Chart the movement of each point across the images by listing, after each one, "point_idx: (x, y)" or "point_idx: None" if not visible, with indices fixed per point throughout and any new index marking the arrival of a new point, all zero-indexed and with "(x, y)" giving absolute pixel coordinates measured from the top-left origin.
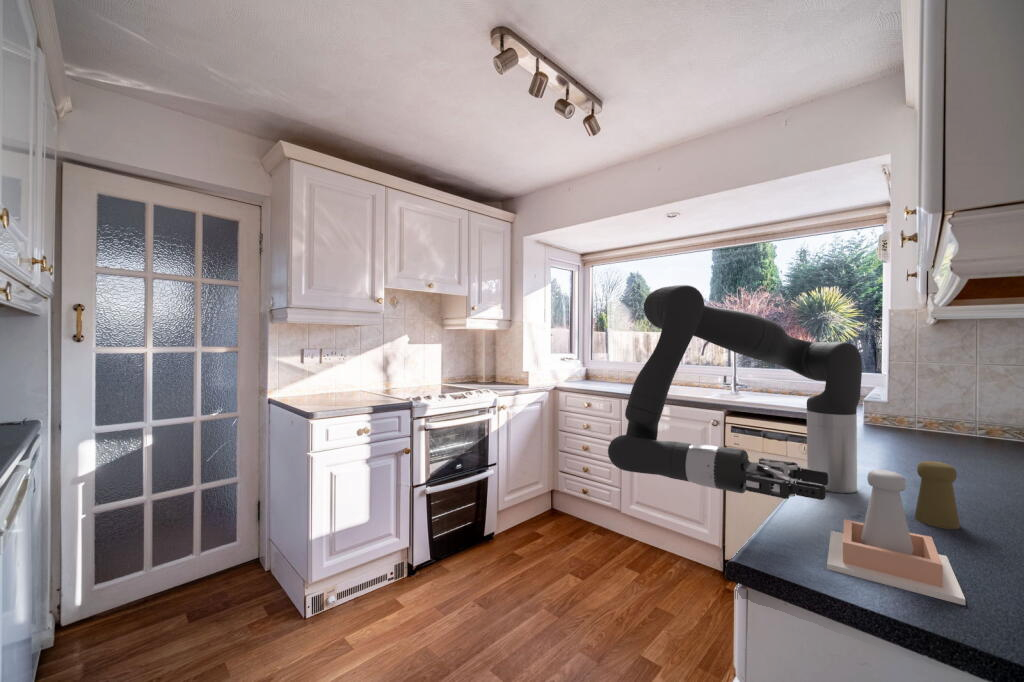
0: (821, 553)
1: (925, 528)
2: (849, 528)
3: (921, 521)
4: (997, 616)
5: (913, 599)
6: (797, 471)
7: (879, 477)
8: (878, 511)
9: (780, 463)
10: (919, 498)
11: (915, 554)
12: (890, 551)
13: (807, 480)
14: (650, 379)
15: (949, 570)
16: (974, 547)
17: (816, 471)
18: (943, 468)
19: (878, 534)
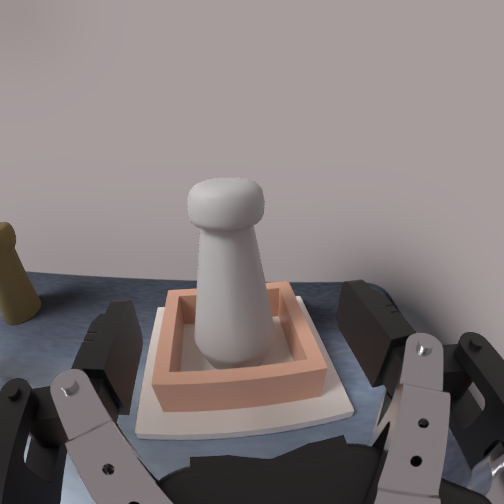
0: (275, 445)
1: (43, 321)
2: (218, 372)
3: (24, 320)
4: (297, 288)
5: (336, 330)
6: (102, 398)
7: (258, 191)
8: (259, 275)
9: (108, 460)
10: (4, 292)
11: (183, 328)
12: (296, 317)
13: (128, 387)
14: None
15: None
16: (92, 294)
17: (121, 322)
18: (8, 225)
19: (269, 317)
